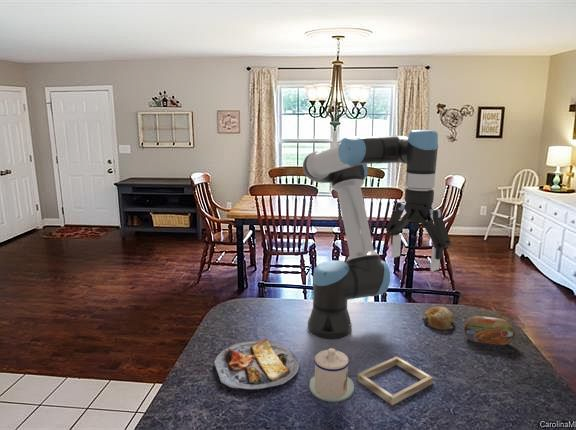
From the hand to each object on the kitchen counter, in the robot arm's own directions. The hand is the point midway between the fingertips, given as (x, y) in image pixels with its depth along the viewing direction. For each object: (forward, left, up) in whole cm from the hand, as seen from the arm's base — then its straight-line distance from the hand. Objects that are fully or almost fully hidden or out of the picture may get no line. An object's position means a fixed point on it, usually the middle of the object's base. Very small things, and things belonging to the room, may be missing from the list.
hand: (414, 263), depth 122 cm
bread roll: (-11, +29, -32) cm, 45 cm away
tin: (+6, +32, -32) cm, 46 cm away
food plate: (-24, -38, -32) cm, 55 cm away
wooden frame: (+4, -10, -32) cm, 33 cm away
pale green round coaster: (-4, -26, -32) cm, 41 cm away
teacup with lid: (-4, -27, -31) cm, 41 cm away
